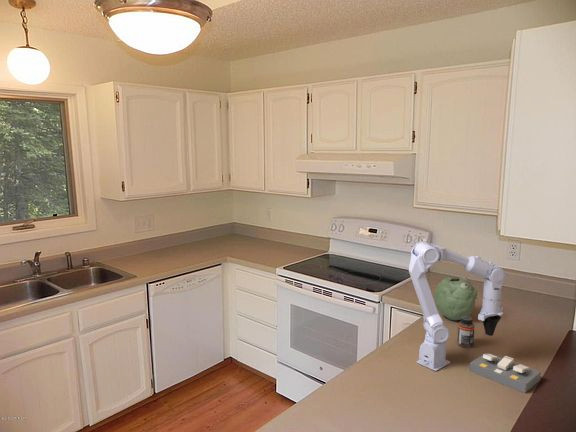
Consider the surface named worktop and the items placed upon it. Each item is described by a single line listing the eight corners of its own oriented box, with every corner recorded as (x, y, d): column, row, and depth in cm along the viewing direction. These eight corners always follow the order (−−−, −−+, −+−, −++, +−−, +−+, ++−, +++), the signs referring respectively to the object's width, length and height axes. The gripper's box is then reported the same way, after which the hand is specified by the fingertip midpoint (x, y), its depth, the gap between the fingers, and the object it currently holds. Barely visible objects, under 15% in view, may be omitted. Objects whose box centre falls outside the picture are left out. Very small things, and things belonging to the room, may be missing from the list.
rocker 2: (505, 370, 138) (505, 366, 138) (497, 367, 141) (497, 363, 140) (513, 361, 142) (513, 358, 142) (505, 358, 144) (505, 355, 144)
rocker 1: (490, 360, 142) (491, 357, 142) (482, 357, 144) (483, 354, 144) (497, 360, 146) (498, 356, 146) (490, 357, 148) (490, 354, 148)
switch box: (525, 393, 131) (526, 378, 130) (469, 370, 145) (470, 357, 144) (540, 380, 138) (541, 366, 138) (485, 360, 152) (486, 347, 151)
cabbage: (438, 309, 203) (440, 269, 200) (479, 318, 191) (482, 276, 188) (426, 319, 190) (428, 277, 187) (470, 329, 179) (473, 284, 176)
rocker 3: (521, 373, 134) (522, 369, 134) (512, 369, 136) (513, 365, 136) (528, 370, 138) (529, 367, 138) (520, 367, 140) (520, 363, 140)
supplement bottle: (459, 340, 168) (461, 313, 167) (475, 344, 165) (477, 317, 163) (454, 345, 164) (456, 318, 162) (470, 350, 160) (472, 322, 158)
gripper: (493, 305, 140) (491, 344, 142) (512, 296, 149) (509, 332, 151) (473, 300, 145) (470, 337, 147) (492, 291, 154) (490, 326, 156)
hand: (489, 334), depth 149 cm, fingers closed
